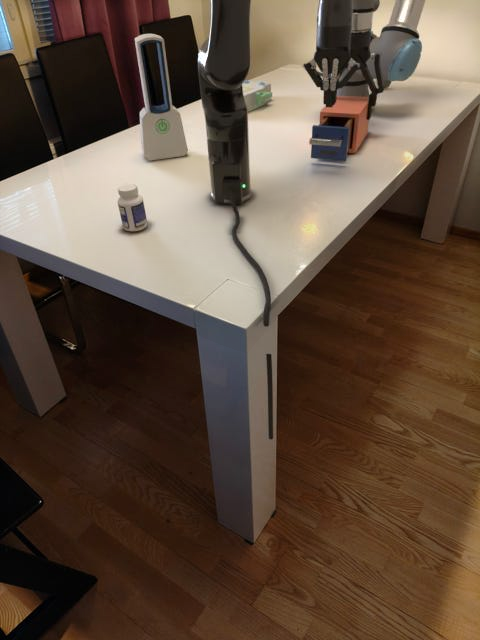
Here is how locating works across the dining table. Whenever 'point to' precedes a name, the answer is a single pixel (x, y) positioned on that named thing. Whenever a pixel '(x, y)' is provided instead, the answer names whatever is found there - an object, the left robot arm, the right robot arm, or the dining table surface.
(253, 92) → the decorative block
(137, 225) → the pill bottle
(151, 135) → the electronic device
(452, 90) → the dining table surface
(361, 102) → the cabinet
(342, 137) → the drawer
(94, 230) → the dining table surface
